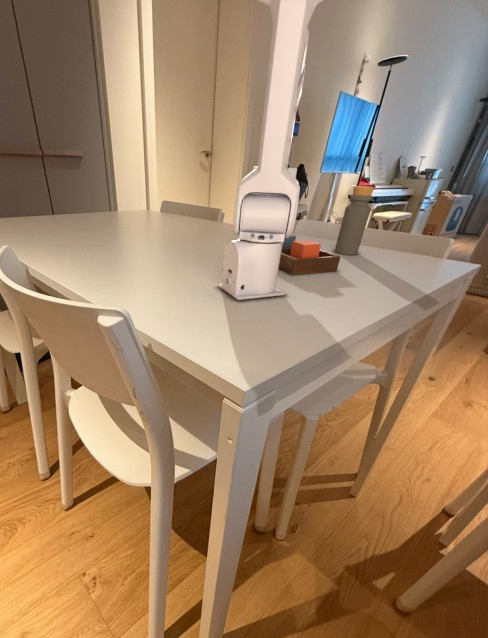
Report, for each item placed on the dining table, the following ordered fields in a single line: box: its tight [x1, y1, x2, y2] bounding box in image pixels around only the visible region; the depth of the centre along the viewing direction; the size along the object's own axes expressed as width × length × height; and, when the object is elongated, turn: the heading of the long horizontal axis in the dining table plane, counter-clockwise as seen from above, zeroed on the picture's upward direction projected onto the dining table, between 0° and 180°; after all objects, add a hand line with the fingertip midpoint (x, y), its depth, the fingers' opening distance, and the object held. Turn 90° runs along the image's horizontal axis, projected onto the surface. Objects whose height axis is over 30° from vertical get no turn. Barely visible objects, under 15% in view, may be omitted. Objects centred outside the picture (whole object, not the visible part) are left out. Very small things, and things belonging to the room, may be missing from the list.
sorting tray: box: [278, 248, 341, 276], centre depth 80 cm, size 20×12×3 cm, turn 20°
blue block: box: [282, 233, 297, 249], centre depth 82 cm, size 4×4×4 cm
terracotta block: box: [290, 239, 322, 259], centre depth 75 cm, size 4×4×4 cm
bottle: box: [334, 185, 375, 256], centre depth 86 cm, size 6×6×15 cm
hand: (267, 215), depth 77 cm, fingers open, 7 cm apart
